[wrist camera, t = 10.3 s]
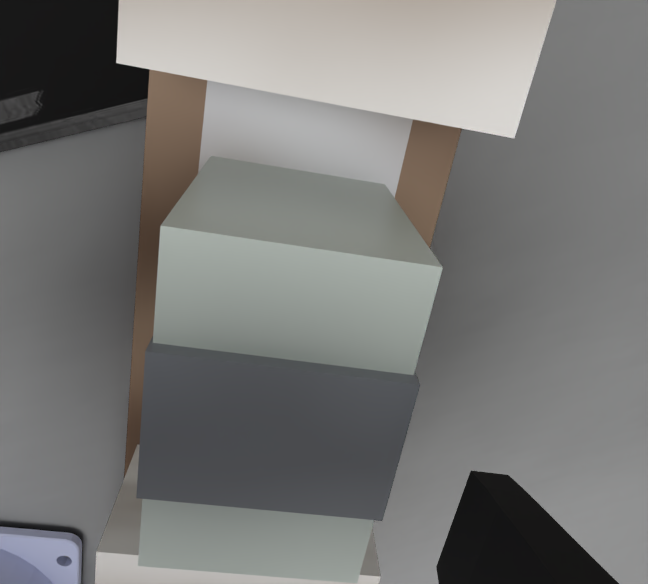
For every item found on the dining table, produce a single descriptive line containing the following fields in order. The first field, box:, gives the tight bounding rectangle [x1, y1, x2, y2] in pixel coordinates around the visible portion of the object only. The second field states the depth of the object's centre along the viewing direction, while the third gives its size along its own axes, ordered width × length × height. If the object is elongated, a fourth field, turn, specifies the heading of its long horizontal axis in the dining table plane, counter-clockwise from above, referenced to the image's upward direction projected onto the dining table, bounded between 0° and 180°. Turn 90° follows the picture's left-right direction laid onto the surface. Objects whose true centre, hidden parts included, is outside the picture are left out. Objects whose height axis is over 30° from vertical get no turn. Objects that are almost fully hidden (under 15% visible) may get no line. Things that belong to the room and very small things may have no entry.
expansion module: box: [136, 156, 443, 583], centre depth 13 cm, size 4×7×6 cm, turn 170°
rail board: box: [95, 0, 556, 584], centre depth 15 cm, size 24×8×6 cm, turn 169°
